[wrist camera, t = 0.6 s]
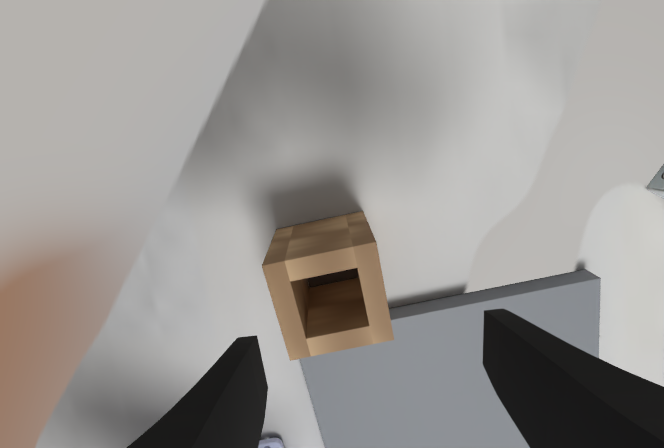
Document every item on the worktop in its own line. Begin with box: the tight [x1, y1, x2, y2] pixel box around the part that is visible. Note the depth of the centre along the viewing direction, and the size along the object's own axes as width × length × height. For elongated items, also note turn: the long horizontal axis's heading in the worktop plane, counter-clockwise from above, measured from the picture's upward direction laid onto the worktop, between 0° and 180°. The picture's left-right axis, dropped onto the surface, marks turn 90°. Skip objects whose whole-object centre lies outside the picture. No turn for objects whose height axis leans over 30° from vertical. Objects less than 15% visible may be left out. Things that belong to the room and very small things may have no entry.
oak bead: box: [262, 211, 394, 361], centre depth 18 cm, size 5×5×5 cm
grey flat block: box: [300, 269, 601, 448], centre depth 20 cm, size 18×12×7 cm, turn 102°
